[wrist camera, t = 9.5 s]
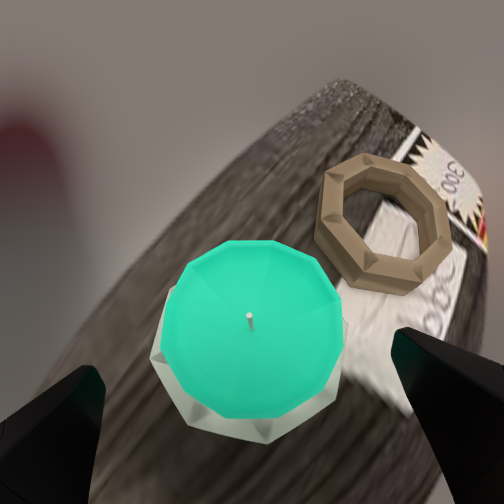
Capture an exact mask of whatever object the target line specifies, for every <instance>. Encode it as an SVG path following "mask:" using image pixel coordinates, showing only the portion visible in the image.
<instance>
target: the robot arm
mask: <svg viewBox="0 0 504 504" xmlns="http://www.w3.org/2000/svg"><path fill="white" fill-rule="evenodd" d="M391 358H392V361H393V363H394V365H395V368H396V370H397V373H398V375H399V378H400V381H401V383H402V386H403V388H404V391H405V393H406V396H407V398H408V400H409V402H410V404H411V406H412V408H413V410H414V412H415V414H416V416H417V418H418V420H419V422H420V424H421V426H422V428H423V430H424V432H425V435H426V437H427V439H428V441H429V443H430V445H431V447H432V450H433V452H434V454H435V456H436V458H437V461H438V463H439V465H440V467H441V470H442V472H443V474H444V477H445V479H446V482H447V484H448V486H449V489H450V491H451V494H452V496H453V500H454V502H455V504H504V365H501V364H499V363H497V362H494V361H492V360H489V359H487V358H484V357H482V356H479V355H477V354H474V353H472V352H469V351H467V350H464V349H462V348H459V347H457V346H454V345H452V344H449V343H447V342H445V341H442V340H440V339H437V338H435V337H432V336H430V335H427V334H425V333H422V332H420V331H418V330H415V329H413V328H410V327H404V328H401V329H398V330H396V332H395V334H394V338H393V343H392V348H391ZM105 394H106V387H105V384H104V382H103V380H102V378H101V376H100V375H99V373H98V371H97V369H96V368H95V367H94V366H92V365H82V366H80V367H79V368H77V369H76V370H74V371H73V372H72V373H70V374H69V375H67V376H66V377H64V378H63V379H62V380H60V381H59V382H57V383H56V384H55V385H53V386H52V387H50V388H49V389H47V390H46V391H45V392H43V393H42V394H40V395H39V396H38V397H36V398H35V399H33V400H32V401H30V402H29V403H28V404H26V405H25V406H23V407H22V408H21V409H20V410H18V411H16V412H15V413H14V414H12V415H11V416H9V417H8V418H7V419H6V420H4V421H2V422H1V423H0V504H88V498H89V491H90V484H91V478H92V472H93V466H94V461H95V456H96V451H97V446H98V441H99V436H100V431H101V424H102V416H103V408H104V401H105Z"/></svg>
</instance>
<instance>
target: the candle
mask: <svg viewBox="0 0 504 504" xmlns="http://www.w3.org/2000/svg"><path fill="white" fill-rule="evenodd" d="M343 347H344V340H343V321H342V306H341V298H340V297H339V295H338V293H337V292H336V290H335V288H334V287H333V285H332V284H331V282H330V280H329V279H328V277H327V276H326V274H325V272H324V271H323V269H322V268H321V266H320V264H319V263H318V261H317V260H316V258H313V257H311V256H309V255H306V254H304V253H302V252H299V251H297V250H295V249H292V248H290V247H288V246H285V245H283V244H281V243H278V242H276V241H227V242H225V243H223V244H221V245H220V246H218V247H216V248H214V249H212V250H211V251H209V252H207V253H205V254H204V255H202V256H200V257H198V258H197V259H195V260H193V261H191V262H190V263H188V265H187V266H186V268H185V270H184V272H183V274H182V275H181V277H180V279H179V281H178V283H177V285H176V286H175V288H174V290H173V292H172V294H171V296H170V298H169V299H168V301H167V303H166V307H165V314H164V320H163V327H162V334H161V342H160V350H161V352H162V354H163V355H164V357H165V359H166V361H167V363H168V364H169V366H170V368H171V370H172V372H173V373H174V375H175V377H176V378H177V380H178V382H179V384H180V385H181V387H182V389H183V390H184V392H186V393H187V394H189V395H190V396H192V397H193V398H194V399H196V400H197V401H199V402H200V403H202V404H203V405H205V406H206V407H208V408H209V409H211V410H213V411H214V412H216V413H217V414H219V415H220V416H222V417H224V418H225V419H268V418H280V417H281V416H283V415H285V414H287V413H288V412H290V411H292V410H293V409H295V408H297V407H298V406H300V405H301V404H303V403H305V402H306V401H308V400H309V399H311V398H312V397H314V396H315V395H317V394H318V393H320V392H321V391H323V389H324V387H325V385H326V383H327V381H328V379H329V377H330V375H331V373H332V371H333V369H334V367H335V365H336V363H337V361H338V358H339V356H340V354H341V352H342V350H343Z"/></svg>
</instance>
